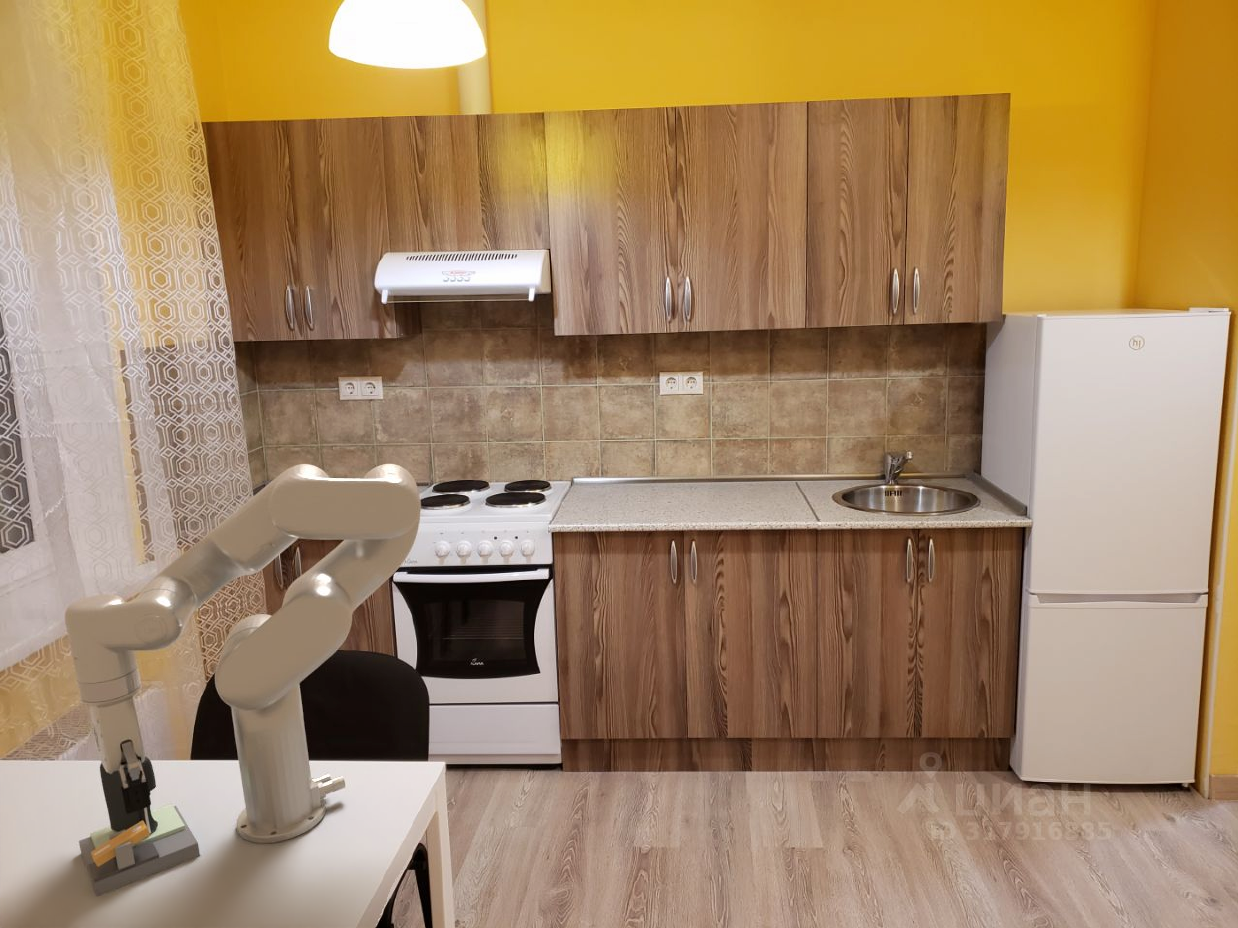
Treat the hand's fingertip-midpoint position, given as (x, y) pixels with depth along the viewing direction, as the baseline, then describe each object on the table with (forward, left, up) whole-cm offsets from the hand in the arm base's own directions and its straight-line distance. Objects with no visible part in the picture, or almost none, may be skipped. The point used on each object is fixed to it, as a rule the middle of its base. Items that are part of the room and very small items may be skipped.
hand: (131, 794), depth 133 cm
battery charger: (0, 0, -6) cm, 6 cm away
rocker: (+3, +6, -3) cm, 8 cm away
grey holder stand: (0, +2, -8) cm, 8 cm away
